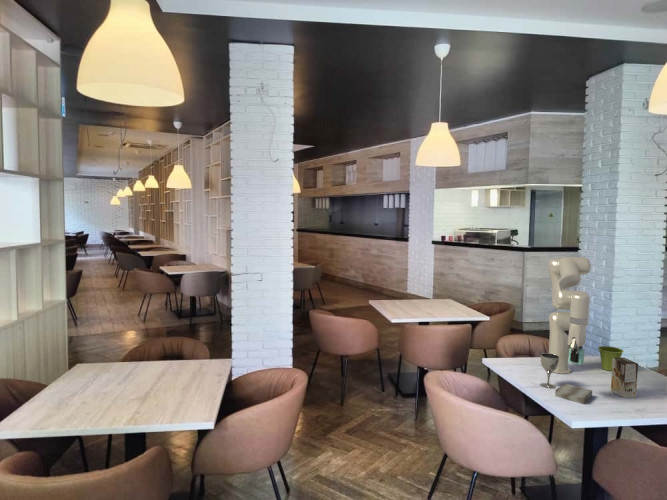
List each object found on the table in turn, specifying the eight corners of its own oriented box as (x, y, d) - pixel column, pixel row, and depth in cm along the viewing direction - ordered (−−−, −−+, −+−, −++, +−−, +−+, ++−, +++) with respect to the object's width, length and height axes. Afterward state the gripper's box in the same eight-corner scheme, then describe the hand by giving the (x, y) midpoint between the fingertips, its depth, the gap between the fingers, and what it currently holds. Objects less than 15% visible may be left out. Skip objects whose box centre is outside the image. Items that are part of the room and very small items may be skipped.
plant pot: (603, 364, 254) (605, 344, 253) (626, 370, 244) (628, 350, 243) (592, 367, 248) (593, 347, 247) (614, 374, 238) (616, 353, 237)
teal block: (568, 361, 206) (569, 349, 205) (571, 359, 209) (572, 346, 209) (580, 364, 202) (581, 351, 202) (583, 362, 206) (584, 349, 205)
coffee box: (636, 397, 207) (639, 363, 206) (623, 398, 206) (626, 363, 205) (622, 390, 216) (624, 357, 215) (609, 390, 216) (612, 357, 214)
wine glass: (555, 384, 222) (557, 354, 221) (558, 389, 215) (560, 359, 213) (538, 381, 225) (540, 352, 223) (540, 387, 217) (541, 357, 216)
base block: (555, 396, 207) (555, 389, 207) (564, 389, 215) (564, 383, 215) (583, 404, 198) (584, 397, 198) (592, 396, 207) (592, 390, 207)
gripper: (575, 316, 213) (573, 354, 214) (563, 322, 201) (560, 362, 202) (593, 319, 208) (590, 358, 209) (581, 325, 195) (579, 366, 197)
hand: (576, 359), depth 206 cm, fingers closed on teal block, 4 cm apart
